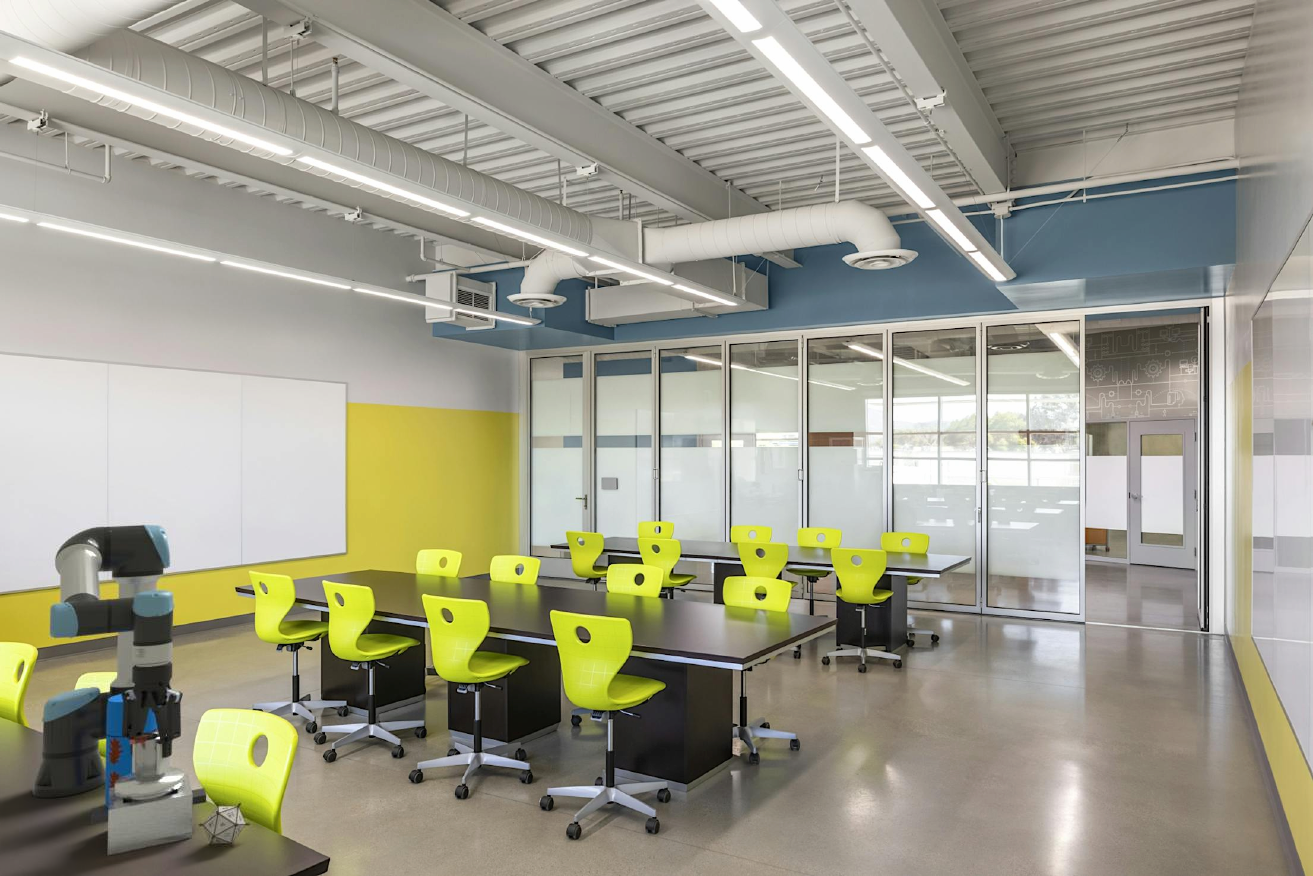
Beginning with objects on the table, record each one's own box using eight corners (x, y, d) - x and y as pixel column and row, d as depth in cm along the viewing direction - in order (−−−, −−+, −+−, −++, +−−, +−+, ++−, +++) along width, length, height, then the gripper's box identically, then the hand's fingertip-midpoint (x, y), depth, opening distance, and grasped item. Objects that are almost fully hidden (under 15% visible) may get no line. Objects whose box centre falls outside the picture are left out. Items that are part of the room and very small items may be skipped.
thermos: (132, 813, 191) (134, 703, 192) (93, 810, 193) (95, 701, 194) (169, 796, 202) (171, 691, 203) (131, 793, 204) (133, 689, 205)
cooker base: (92, 833, 180) (92, 791, 181) (202, 811, 192) (202, 771, 192) (89, 859, 168) (90, 813, 168) (207, 834, 179) (208, 791, 180)
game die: (223, 866, 172) (206, 839, 166) (201, 843, 176) (185, 816, 171) (262, 832, 178) (248, 805, 172) (240, 811, 182) (226, 784, 177)
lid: (148, 788, 188) (150, 723, 189) (198, 792, 185) (199, 725, 186) (98, 810, 175) (100, 740, 176) (151, 815, 172) (152, 743, 173)
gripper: (102, 665, 180) (100, 775, 179) (175, 668, 176) (173, 780, 175) (130, 658, 187) (129, 763, 186) (201, 660, 183) (200, 768, 182)
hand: (150, 771), depth 180 cm, fingers closed on lid, 5 cm apart
